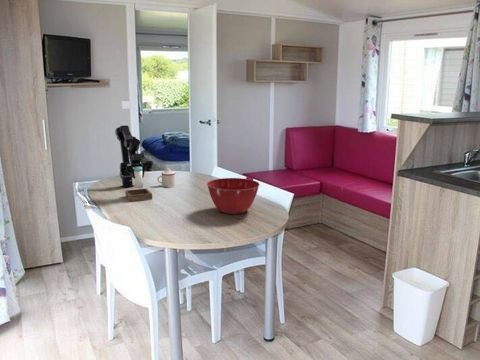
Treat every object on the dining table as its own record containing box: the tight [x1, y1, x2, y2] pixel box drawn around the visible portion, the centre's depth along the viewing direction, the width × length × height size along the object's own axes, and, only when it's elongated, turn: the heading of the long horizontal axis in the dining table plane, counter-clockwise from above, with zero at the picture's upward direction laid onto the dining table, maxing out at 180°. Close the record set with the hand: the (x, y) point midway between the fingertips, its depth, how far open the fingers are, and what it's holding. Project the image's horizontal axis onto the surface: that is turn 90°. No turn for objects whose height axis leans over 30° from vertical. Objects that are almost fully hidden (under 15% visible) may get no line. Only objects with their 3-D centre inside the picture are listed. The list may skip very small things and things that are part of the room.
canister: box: [133, 167, 144, 189], centre depth 257 cm, size 7×5×12 cm
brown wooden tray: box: [124, 188, 153, 203], centre depth 260 cm, size 13×13×4 cm
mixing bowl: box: [206, 177, 260, 215], centre depth 239 cm, size 28×28×15 cm
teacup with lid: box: [157, 168, 176, 188], centre depth 290 cm, size 12×9×12 cm
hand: (138, 177), depth 256 cm, fingers closed on canister, 5 cm apart
